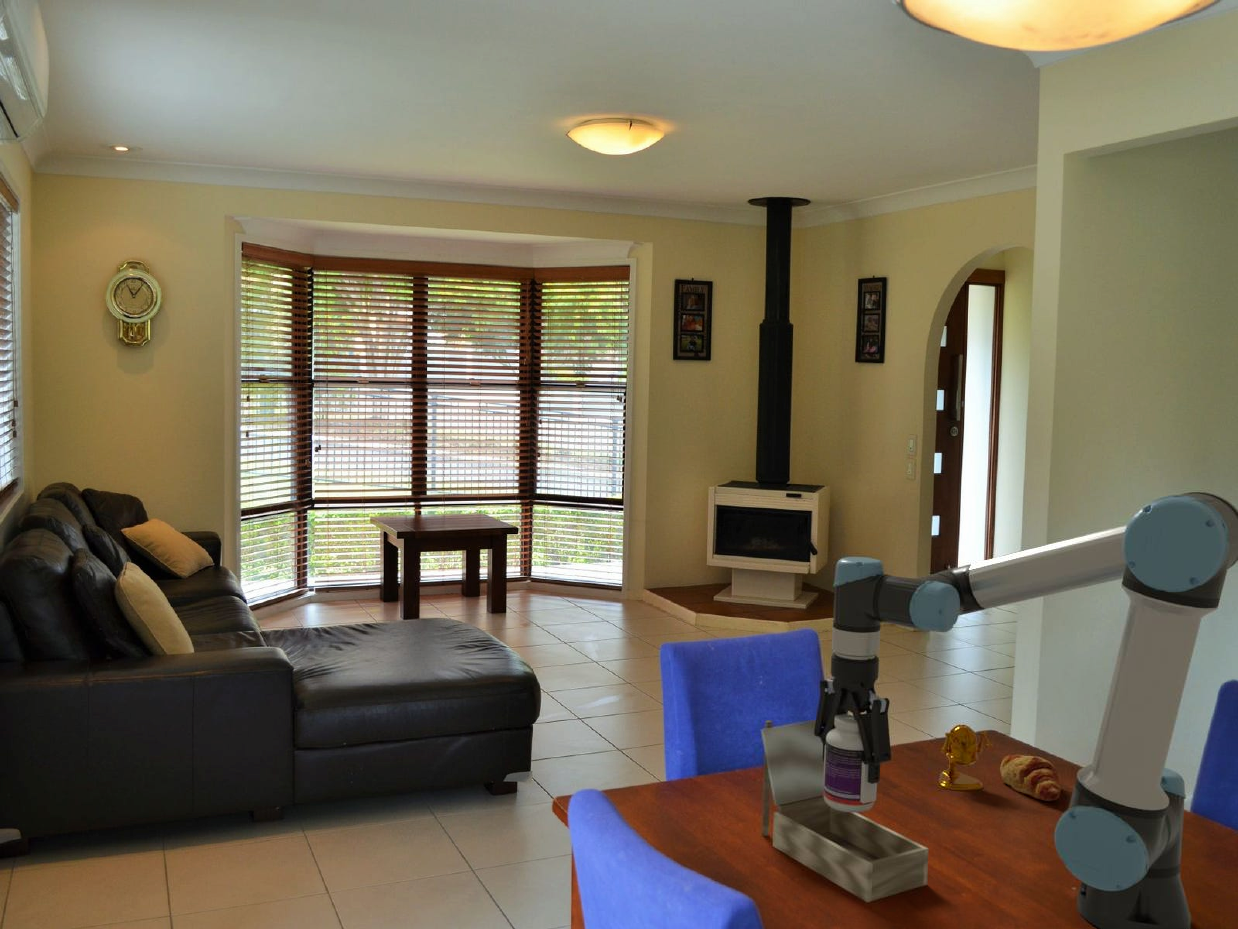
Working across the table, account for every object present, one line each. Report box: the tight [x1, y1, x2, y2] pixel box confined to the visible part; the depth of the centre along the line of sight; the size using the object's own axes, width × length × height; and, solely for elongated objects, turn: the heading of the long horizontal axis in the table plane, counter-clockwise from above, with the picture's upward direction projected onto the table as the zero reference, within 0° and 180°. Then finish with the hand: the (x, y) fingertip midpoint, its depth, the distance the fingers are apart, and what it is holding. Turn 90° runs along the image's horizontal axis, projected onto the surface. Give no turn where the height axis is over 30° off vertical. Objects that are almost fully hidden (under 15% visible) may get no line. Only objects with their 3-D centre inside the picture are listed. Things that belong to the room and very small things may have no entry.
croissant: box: [999, 753, 1061, 802], centre depth 212 cm, size 21×10×8 cm, turn 6°
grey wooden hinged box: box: [760, 719, 929, 903], centre depth 177 cm, size 28×13×20 cm, turn 31°
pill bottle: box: [824, 713, 875, 813], centre depth 174 cm, size 8×8×14 cm
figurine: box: [938, 724, 994, 792], centre depth 213 cm, size 8×11×12 cm
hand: (849, 791), depth 174 cm, fingers closed on pill bottle, 8 cm apart
